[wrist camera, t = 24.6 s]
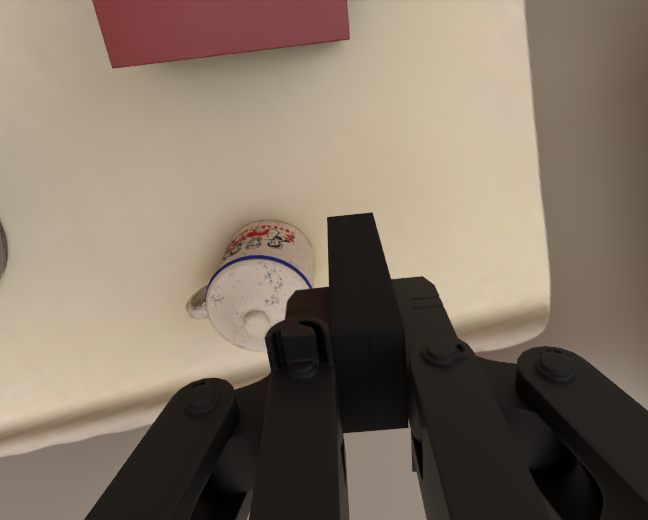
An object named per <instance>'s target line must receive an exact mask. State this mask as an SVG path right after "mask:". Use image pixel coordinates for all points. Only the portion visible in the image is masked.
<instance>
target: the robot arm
mask: <svg viewBox="0 0 648 520" xmlns="http://www.w3.org/2000/svg"><path fill="white" fill-rule="evenodd" d="M327 226H328V264H329V287H322V288H312V289H302V290H295V292H294V293H293V294H292V295H291V297H290V298H289V299H288V300H287V305H286V314H285V320H282V321H280V322H278V323H276V324H275V325H274V326H272V327H271V328H270V329H269V330H268V331H267V333H266V335H265V337H264V338H265V343H266V348H267V353H268V358H269V362H270V367H271V373H270V374H269V375H268V376H266V377H265V378H263V379H262V380H260V381H258V382H256V383H253V384H251V385H248V386H245V387H242V388H239V389H236V390H234V388H233V386H232V385H231V384H230V383H229V382H227V381H226V380H223V379H219V378H204V379H201V380H198V381H195V382H191V383H190V384H188V385H186V386H185V387H183V388H181V389H180V390H179V391H178V392H177V393H176V394H175V395H174V396H173V397H172V398H171V400H170V401H169V402H168V404H167V405H166V406H165V408H164V409H163V411H162V412H161V413H160V415H159V416H158V418H157V419H156V420H155V422H154V423H153V425H152V426H151V427H150V429H149V430H148V432H147V433H146V435H145V436H144V437H143V439H142V440H141V441H140V443H139V444H138V446H137V447H136V448H135V450H134V451H133V452H132V454H131V455H130V457H129V458H128V459H127V461H126V462H125V464H124V465H123V467H122V468H121V469H120V471H119V472H118V473H117V475H116V476H115V478H114V479H113V480H112V482H111V483H110V485H109V486H108V487H107V489H106V490H105V492H104V493H103V494H102V496H101V497H100V498H99V500H98V501H97V503H96V504H95V505H94V507H93V508H92V510H91V511H90V512H89V514H88V515H87V517H86V518H85V519H84V520H247V517H248V514H249V512H250V517H249V520H349V505H348V488H347V471H346V453H345V446H344V438H343V433H350V432H364V431H376V430H388V429H399V428H408V419H409V423H410V428H411V440H412V441H411V444H412V469H413V470H412V471H413V472H416V471H417V475H418V480H419V485H420V490H421V494H422V499H423V504H424V508H425V513H426V518H427V520H648V411H647V410H646V409H645V408H644V407H643V406H641V405H640V404H639V403H638V402H636V401H635V400H634V399H633V398H631V397H630V396H629V395H628V394H627V393H625V392H624V391H623V390H622V389H620V388H619V387H618V386H617V385H616V384H614V383H613V382H612V381H611V380H609V379H608V378H607V377H606V376H604V375H603V374H602V373H601V372H600V371H598V370H597V369H596V368H595V367H594V366H592V365H591V364H590V363H589V362H587V361H586V360H585V359H583V358H582V357H580V356H578V355H577V354H575V353H573V352H570V351H567V350H564V349H561V348H556V347H548V346H543V347H534V348H531V349H529V350H526V351H524V352H523V353H522V354H521V355H520V356H519V358H518V360H517V364H513V363H506V362H498V361H492V360H487V359H484V358H481V357H478V356H476V355H475V354H474V351H473V350H472V349H471V348H470V346H469V345H468V344H467V343H465V342H463V341H462V340H460V339H458V338H457V335H456V333H455V331H454V328H453V326H452V324H451V322H450V319H449V317H448V315H447V313H446V310H445V308H444V307H443V303H442V301H441V299H440V298H439V294H438V292H437V290H436V288H435V285H434V284H432V283H431V282H430V281H428V280H427V279H426V278H424V277H423V276H421V277H411V278H401V279H391V278H390V274H389V270H388V267H387V263H386V260H385V256H384V252H383V249H382V245H381V241H380V238H379V234H378V231H377V227H376V223H375V220H374V216H373V213H363V214H354V215H344V216H335V217H327ZM6 258H7V249H6V242H5V237H4V234H3V230H2V228H1V226H0V277H1V275H2V273H3V271H4V268H5V264H6ZM250 509H251V510H250Z"/></svg>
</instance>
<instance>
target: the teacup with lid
mask: <svg viewBox="0 0 648 520" xmlns="http://www.w3.org/2000/svg"><path fill="white" fill-rule="evenodd" d="M314 267H315V259H314V253H313V249H312V247H311V245H310V243H309V241H308V240H307V238H306V237H305V236H304V235H303V234H302V233H301V232H300V231H299V230H297V229H296V228H294V227H293V226H291V225H289V224H286V223H283V222H280V221H274V220H263V221H257V222H254V223H251V224H249V225H247V226H245V227H243V228H242V229H241V230H239V231H238V232H237V233H236V234H235V236H234V237H233V238H232V240H231V242H230V244H229V246H228V248H227V251H226V253H225V255H224V257H223V260H222V262H221V264H220V267H219V269H218V271H217V272H216V273H215V274H214V275H213V277H212V278H211V280H210V282H209V284H208V285H206V286H204V287H202V288H201V289H199V290H198V291H197V292H196V293H195V294H194V295H193V296H192V297H191V298H190V299H189V301H188V302H187V305H186V310H187V312H188V314H189V316H190V317H192V318H194V319H205V318H209V320H210V322H211V324H212V325H213V327H214V328H215V330H216V331H217V332H218V333H219V334H220V335H221V336H222V337H223V338H224V339H226V340H227V341H228V342H230V343H231V344H233V345H235V346H237V347H240V348H243V349H246V350H250V351H256V352H267V348H266V343H265V338H264V337H265V335H266V333H267V331H268V330H269V329H270V328H271V327H272V326H274V325H275V324H276V323H278V322H280V321H282V320H285V314H286V305H287V300H288V299H289V298H290V297H291V295H292V294H293V293H294V292H295V290H302V289H312V288H314ZM204 302H205V305H202V304H203V303H204Z"/></svg>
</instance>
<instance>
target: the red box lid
mask: <svg viewBox="0 0 648 520" xmlns="http://www.w3.org/2000/svg"><path fill="white" fill-rule="evenodd" d="M92 1H93V5H94V8H95V11H96V15H97V18H98V21H99V25H100V28H101V32H102V35H103V38H104V42H105V45H106V48H107V52H108V55H109V59H110V62H111V65H112V68H121V67H129V66H137V65H145V64H154V63H162V62H170V61H178V60H186V59H194V58H202V57H210V56H218V55H226V54H234V53H243V52H251V51H259V50H267V49H275V48H283V47H291V46H299V45H307V44H315V43H323V42H332V41H340V40H348V39H350V37H349V24H348V11H347V0H92Z"/></svg>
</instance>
